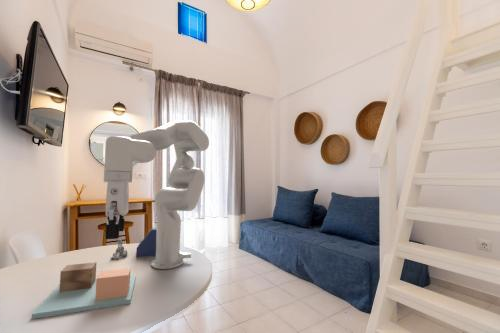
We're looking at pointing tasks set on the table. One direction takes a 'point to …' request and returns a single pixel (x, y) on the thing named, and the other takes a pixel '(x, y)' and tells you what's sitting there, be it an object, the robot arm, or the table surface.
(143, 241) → the blue angular block
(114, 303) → the board
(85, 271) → the walnut brick
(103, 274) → the terracotta brick
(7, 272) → the table surface
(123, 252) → the miniature building cluster
